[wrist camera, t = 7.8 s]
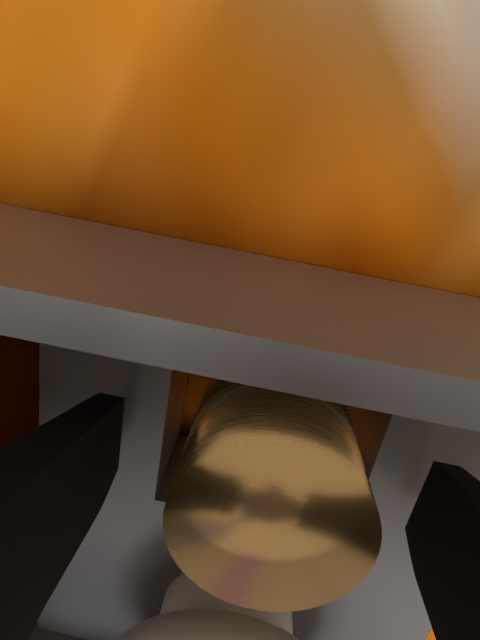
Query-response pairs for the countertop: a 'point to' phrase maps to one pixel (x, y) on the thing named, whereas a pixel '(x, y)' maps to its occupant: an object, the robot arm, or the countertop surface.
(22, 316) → the housing
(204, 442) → the peg
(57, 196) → the countertop surface
